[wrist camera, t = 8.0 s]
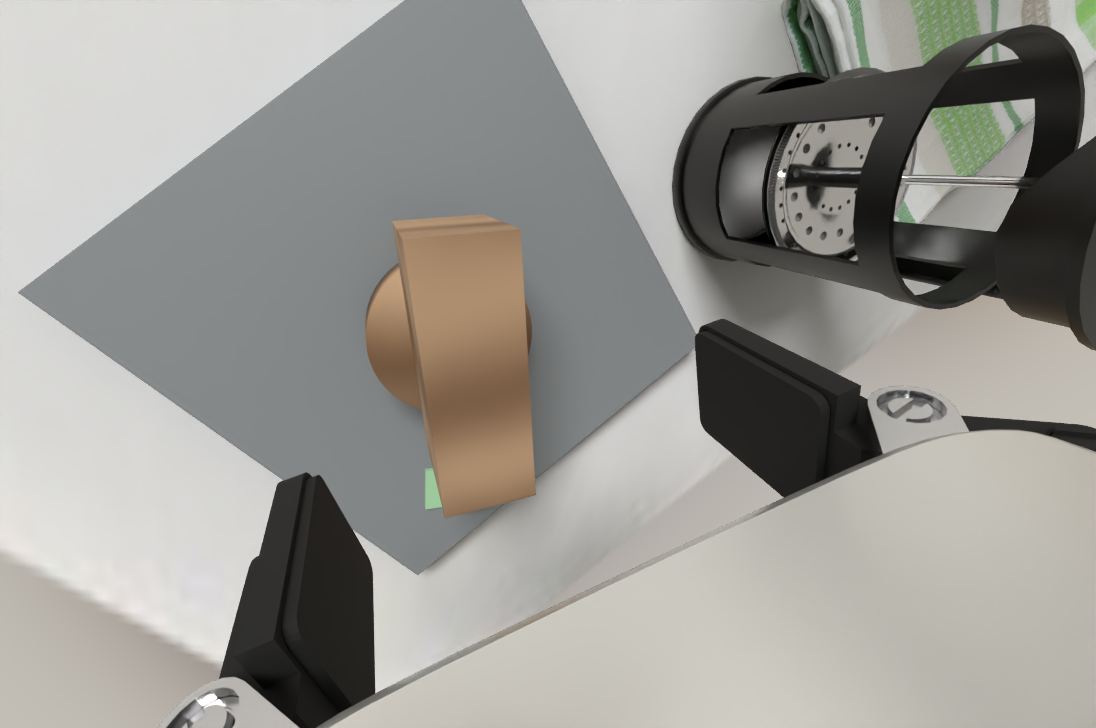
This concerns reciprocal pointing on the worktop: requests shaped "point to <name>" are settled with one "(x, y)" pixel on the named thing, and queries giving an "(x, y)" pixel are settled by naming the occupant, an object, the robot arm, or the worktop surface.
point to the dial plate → (377, 262)
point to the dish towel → (911, 41)
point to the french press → (909, 180)
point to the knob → (460, 353)
